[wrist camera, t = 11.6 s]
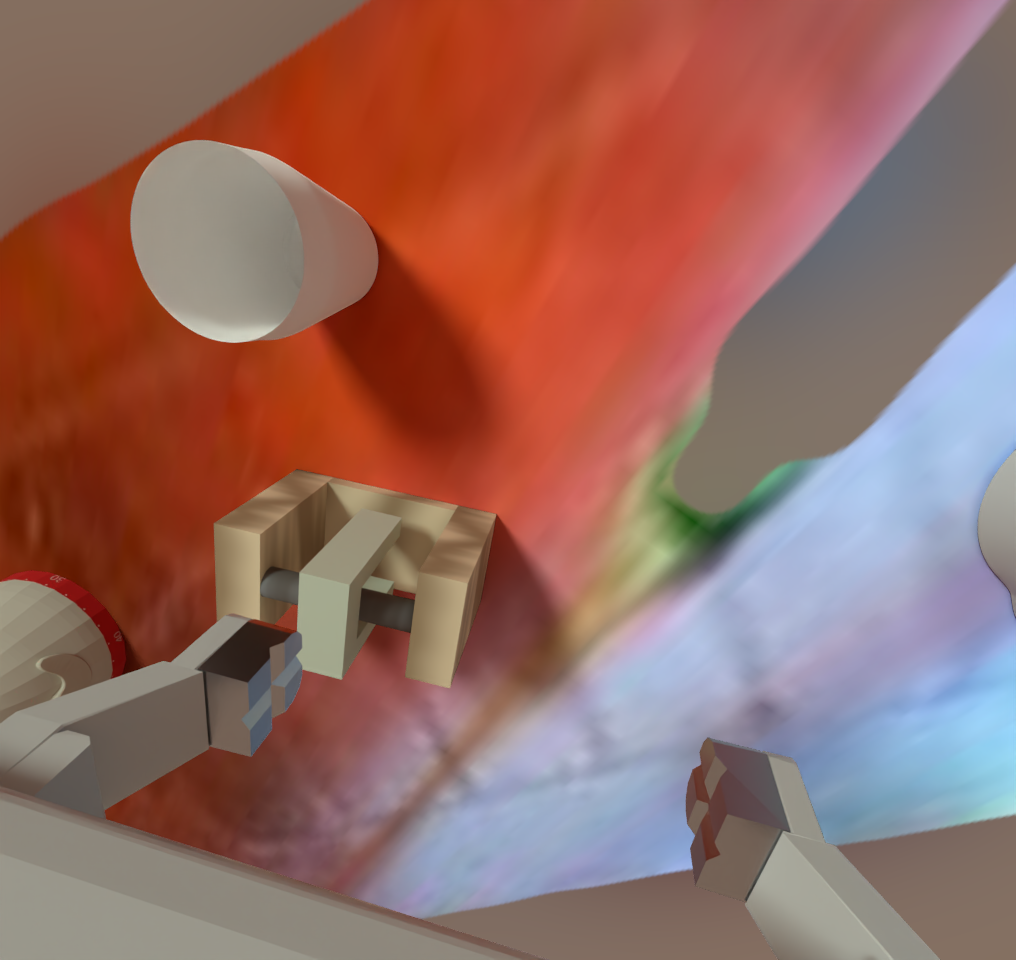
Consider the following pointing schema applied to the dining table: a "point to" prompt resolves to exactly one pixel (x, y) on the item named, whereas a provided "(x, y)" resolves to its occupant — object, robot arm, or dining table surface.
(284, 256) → the cup
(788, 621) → the dining table surface
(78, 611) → the kitchen timer
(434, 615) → the wooden frame with rod
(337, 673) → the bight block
